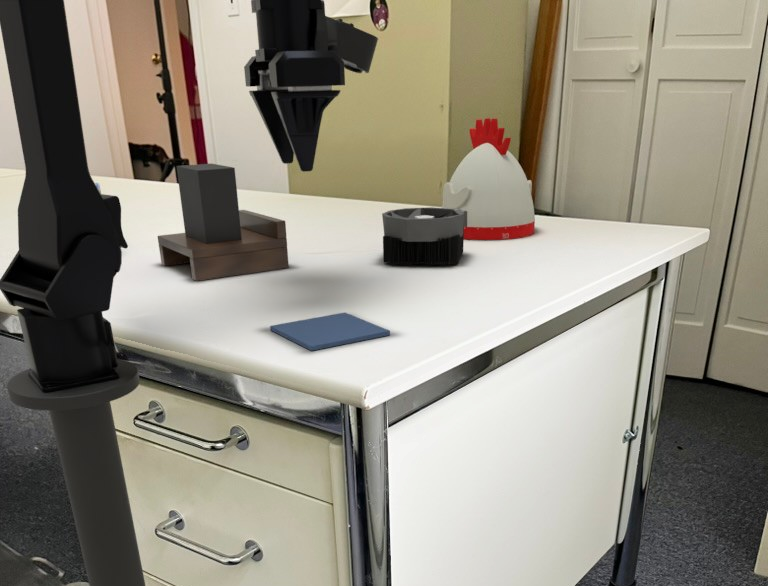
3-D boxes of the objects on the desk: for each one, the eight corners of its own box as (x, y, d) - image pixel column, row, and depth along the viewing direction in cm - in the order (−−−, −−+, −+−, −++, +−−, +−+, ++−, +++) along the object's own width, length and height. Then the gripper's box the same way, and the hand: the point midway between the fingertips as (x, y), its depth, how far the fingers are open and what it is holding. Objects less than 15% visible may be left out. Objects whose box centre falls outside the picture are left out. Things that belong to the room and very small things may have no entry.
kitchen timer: (493, 221, 127) (498, 115, 120) (554, 232, 117) (562, 117, 110) (421, 230, 121) (421, 119, 113) (478, 243, 110) (482, 122, 103)
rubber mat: (311, 350, 68) (310, 346, 68) (270, 330, 74) (269, 325, 74) (390, 335, 72) (390, 330, 72) (345, 316, 78) (345, 312, 78)
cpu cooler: (375, 217, 95) (390, 205, 104) (376, 266, 98) (390, 251, 107) (462, 217, 94) (470, 205, 102) (460, 268, 96) (468, 252, 105)
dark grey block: (206, 244, 95) (197, 170, 91) (185, 236, 100) (176, 166, 96) (241, 239, 97) (234, 167, 93) (219, 232, 102) (211, 163, 98)
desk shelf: (196, 281, 93) (189, 231, 90) (161, 264, 102) (154, 218, 99) (289, 267, 99) (285, 220, 96) (248, 253, 108) (244, 209, 105)
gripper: (398, -26, 69) (400, 171, 77) (342, -5, 85) (348, 156, 92) (270, -27, 66) (285, 177, 74) (236, -6, 82) (252, 161, 89)
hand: (296, 167), depth 82 cm, fingers open, 9 cm apart
